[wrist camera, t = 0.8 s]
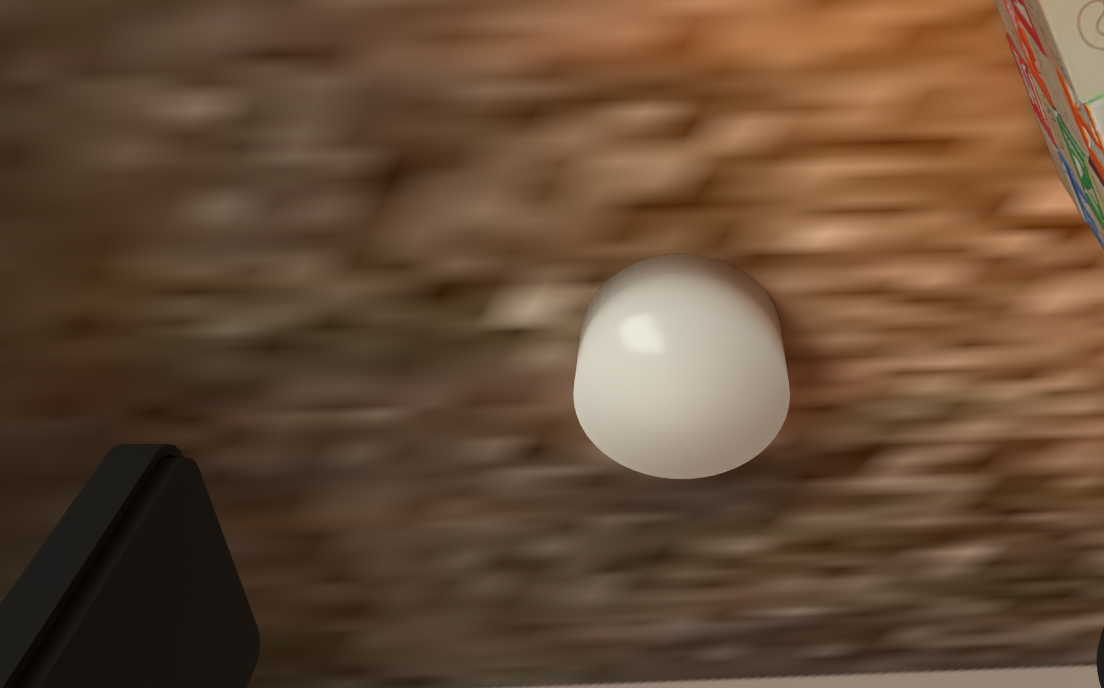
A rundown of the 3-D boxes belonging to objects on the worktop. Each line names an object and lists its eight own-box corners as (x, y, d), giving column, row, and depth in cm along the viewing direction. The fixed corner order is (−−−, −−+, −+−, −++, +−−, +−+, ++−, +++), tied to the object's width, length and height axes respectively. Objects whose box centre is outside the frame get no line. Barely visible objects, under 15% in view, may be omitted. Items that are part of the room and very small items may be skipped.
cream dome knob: (569, 259, 41) (560, 317, 37) (779, 245, 39) (789, 303, 36) (592, 418, 45) (586, 482, 42) (781, 409, 44) (790, 475, 41)
